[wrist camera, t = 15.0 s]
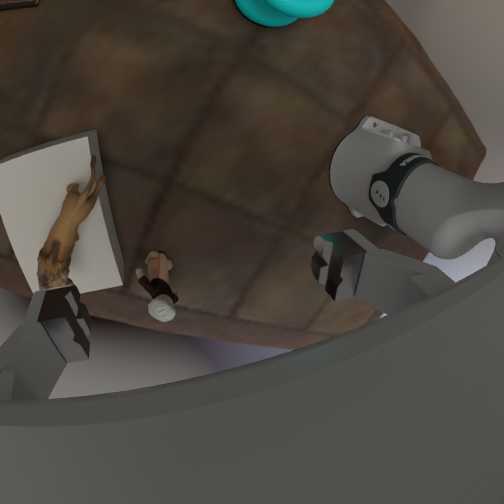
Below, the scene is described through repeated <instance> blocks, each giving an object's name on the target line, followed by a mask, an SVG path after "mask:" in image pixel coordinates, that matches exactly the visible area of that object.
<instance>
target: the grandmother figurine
mask: <svg viewBox="0 0 504 504" xmlns="http://www.w3.org/2000/svg"><path fill="white" fill-rule="evenodd" d="M145 263H146V264H147V265H148V274H149V280H148V278H147V277H146V276H145V275H144V273H143V270H142V269H141V268H137V269H136V271H135V272H136V274H137V277H138V282H139V283H140V284H141V285H142V286H143V287H144V289H145V290H146V291H147V292H149V293H150V295H151V296H152V298H153V300H152V301H151V302H150V304H148V306H149V313H150V314H151V315H152V316H153V317H154V318H156V319H158V320H160V321H162V322H166V321H169V320H171V319H173V318H174V316H175V313H176V311H175V309H174V308H173V304H175V303H176V302H177V301H178V297H179V293H178V292H173V293H172V290H171V288H170V285H169V277H168V270H170V269H171V268H172V267H173V263H172V261H171V260H169V259H166V256H165V255H164V254H162V253H158V252H157V251H151V252H150V253H149V254H148V256H147V258H146V260H145Z"/></svg>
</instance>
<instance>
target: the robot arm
mask: <svg viewBox="0 0 504 504" xmlns="http://www.w3.org/2000/svg"><path fill="white" fill-rule="evenodd" d="M373 124H374V126H373ZM330 181H331V186H332V189H333V191H334V193H335V195H336V196H337V197H338V199H339V200H341V201H342V202H343V203H345V204H346V205H347V206H348V207H349V210H350V212H351V214H352V215H353V216H355V217H357V218H359V217H362V216H365V217H366V218H368V219H370V220H372V221H373V222H375V223H377V224H379V225H380V226H385V225H389V226H390V227H391V228H392V229H393V230H395V231H398V232H399V233H401V234H403V235H408V236H409V237H411V238H412V239H413V240H415V241H416V242H417V243H419V244H420V245H421V246H423V247H424V248H425V249H427V250H428V251H429V252H431V253H432V254H433V255H434V256H436V257H438V258H442V259H454V258H457V257H459V256H462V255H463V254H465V253H467V252H468V251H469V250H471V249H472V248H473V247H474V246H475V245H477V244H478V243H479V242H481V241H483V240H484V239H488V238H493V239H494V240H495V242H496V245H495V248H494V249H495V250H494V252H493V254H492V256H491V258H490V260H489V262H488V264H487V266H485V267H483V268H482V269H480V270H478V271H476V272H475V273H473V274H471V275H469V276H467V277H466V278H464V279H462V280H460V281H458V282H456V283H455V282H454V281H453V280H452V279H451V278H449V277H448V276H447V275H446V274H445V273H443V272H442V271H441V270H440V269H439V268H437V267H436V266H433V265H430V264H427V263H424V262H421V261H418V260H415V259H412V258H409V257H406V256H403V255H400V254H397V253H394V252H391V251H388V250H385V249H378V248H377V247H376V246H374V245H373V244H372V243H371V242H370V241H368V240H367V239H366V238H365V237H363V236H362V235H361V234H360V233H358V232H357V231H356V230H354V229H347V230H343V231H340V232H335V233H331V234H326V235H321V236H317V237H316V238H315V240H314V245H313V248H314V249H315V250H316V253H315V254H314V256H313V257H312V263H311V267H312V272H313V275H314V277H315V279H316V280H317V281H318V282H319V283H321V284H324V285H325V291H326V292H327V293H328V294H329V296H330V297H331V298H332V299H333V300H334V301H339V300H342V299H346V298H349V297H352V296H354V297H355V298H357V299H359V300H361V301H363V302H365V303H367V304H369V305H370V306H372V307H374V308H376V309H378V310H380V311H382V312H384V313H386V314H387V316H384V317H382V318H379V319H377V320H375V321H372V322H370V323H367V324H365V325H362V326H360V327H357V328H355V329H352V330H350V331H347V332H344V333H342V334H339V335H336V336H334V337H331V338H328V339H325V340H323V341H320V342H317V343H314V344H311V345H308V346H305V347H302V348H299V349H296V350H293V351H290V352H287V353H284V354H280V355H278V356H274V357H271V358H267V359H264V360H261V361H257V362H254V363H250V364H246V365H243V366H239V367H235V368H232V369H228V370H224V371H220V372H216V373H212V374H208V375H204V376H199V377H195V378H190V379H186V380H181V381H177V382H172V383H166V384H161V385H157V386H151V387H146V388H139V389H133V390H127V391H120V392H113V393H106V394H98V395H90V396H80V397H70V398H58V399H48V397H49V395H50V394H51V392H52V390H53V388H54V386H55V384H56V383H57V381H58V379H59V377H60V375H61V373H62V372H63V370H64V368H65V367H66V365H67V364H66V363H68V362H75V361H81V360H86V359H89V350H90V349H89V348H90V342H89V341H88V339H87V337H88V335H89V334H90V333H91V322H90V316H89V313H88V310H87V308H86V306H85V304H83V303H82V302H80V295H81V294H80V292H79V290H78V288H77V286H76V285H74V284H71V285H66V286H60V287H54V288H49V289H43V290H39V291H36V292H34V294H33V297H32V300H31V303H30V305H29V308H28V312H27V315H26V318H25V321H24V324H23V325H20V326H19V327H18V328H17V329H16V330H15V331H14V332H13V333H12V334H11V336H10V337H9V338H8V339H7V340H6V341H5V342H4V343H3V344H2V346H1V347H0V504H504V182H502V183H481V182H476V181H473V180H470V179H467V178H464V177H462V176H459V175H457V174H454V173H452V172H450V171H448V170H445V169H443V168H441V167H439V166H438V164H437V163H435V162H434V161H433V160H432V157H431V154H430V152H429V151H428V150H426V149H423V148H421V143H420V138H419V136H418V135H416V134H414V133H412V132H410V131H407V130H405V129H402V128H400V127H398V126H395V125H393V124H390V123H388V122H385V121H382V120H380V119H377V118H374V117H371V116H365V117H364V118H363V119H362V121H361V122H360V124H359V125H358V127H357V128H356V129H355V130H354V131H353V132H352V133H350V134H349V135H348V136H346V137H345V138H344V139H343V141H342V142H341V143H340V144H339V146H338V147H337V149H336V151H335V153H334V156H333V159H332V162H331V167H330Z"/></svg>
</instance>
